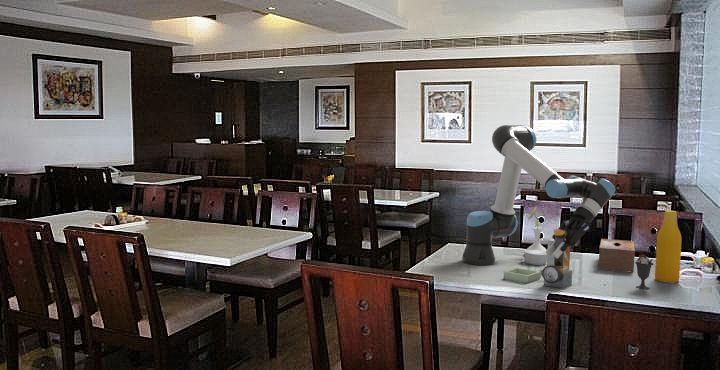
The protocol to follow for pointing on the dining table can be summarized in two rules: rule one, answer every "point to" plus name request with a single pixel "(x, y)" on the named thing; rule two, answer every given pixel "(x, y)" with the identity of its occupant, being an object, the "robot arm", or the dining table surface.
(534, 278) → the tray
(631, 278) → the dining table surface
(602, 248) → the tissue box cover
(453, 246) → the dining table surface
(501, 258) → the dining table surface
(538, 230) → the flower in vase
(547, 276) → the tensioner block
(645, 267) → the sundae
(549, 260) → the small box
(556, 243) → the orange capped bottle
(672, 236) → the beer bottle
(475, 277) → the dining table surface
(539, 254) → the ramekin
